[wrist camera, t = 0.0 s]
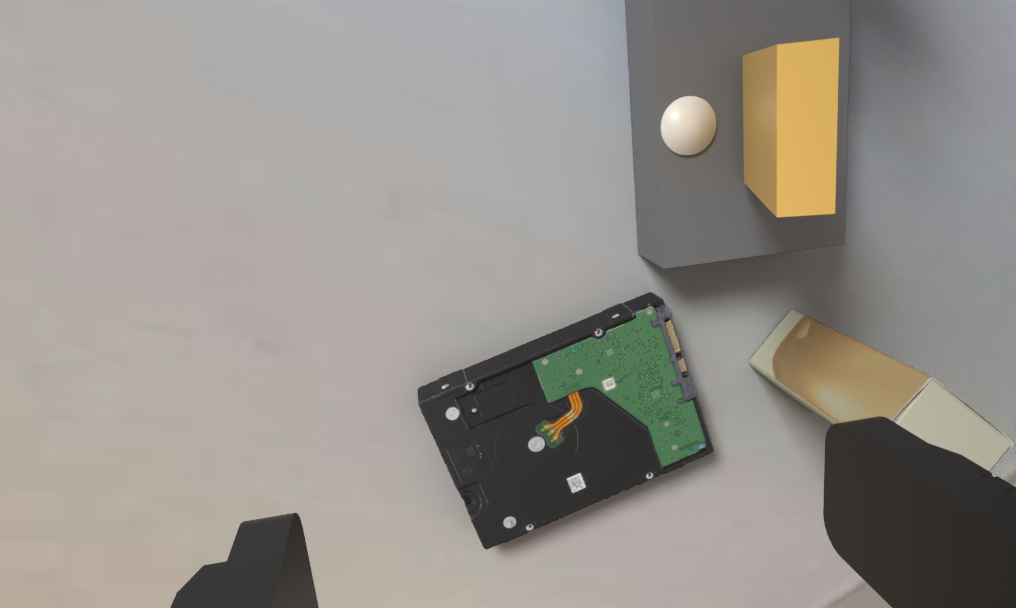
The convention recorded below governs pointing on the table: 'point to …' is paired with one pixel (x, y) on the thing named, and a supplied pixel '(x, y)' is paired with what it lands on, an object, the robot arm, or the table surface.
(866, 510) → the robot arm
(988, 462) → the skincare box
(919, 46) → the table surface
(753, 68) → the amber switch
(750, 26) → the dark grey flat block
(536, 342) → the disk drive
